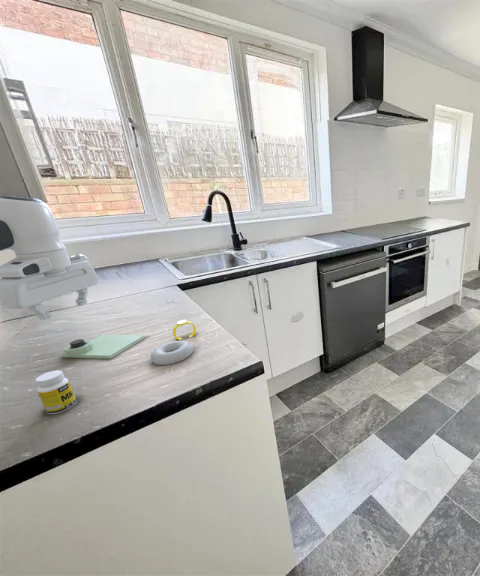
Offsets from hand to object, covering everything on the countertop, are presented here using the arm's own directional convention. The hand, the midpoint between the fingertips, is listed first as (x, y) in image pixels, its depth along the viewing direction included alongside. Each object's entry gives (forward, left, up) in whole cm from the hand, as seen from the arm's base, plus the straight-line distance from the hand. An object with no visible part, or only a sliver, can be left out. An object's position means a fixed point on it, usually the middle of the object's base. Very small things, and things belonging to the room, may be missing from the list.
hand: (65, 311), depth 83 cm
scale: (+3, +5, -14) cm, 15 cm away
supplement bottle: (+17, -20, -14) cm, 30 cm away
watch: (+23, +12, -14) cm, 29 cm away
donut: (+27, +1, -14) cm, 30 cm away
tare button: (-2, +1, -12) cm, 12 cm away
